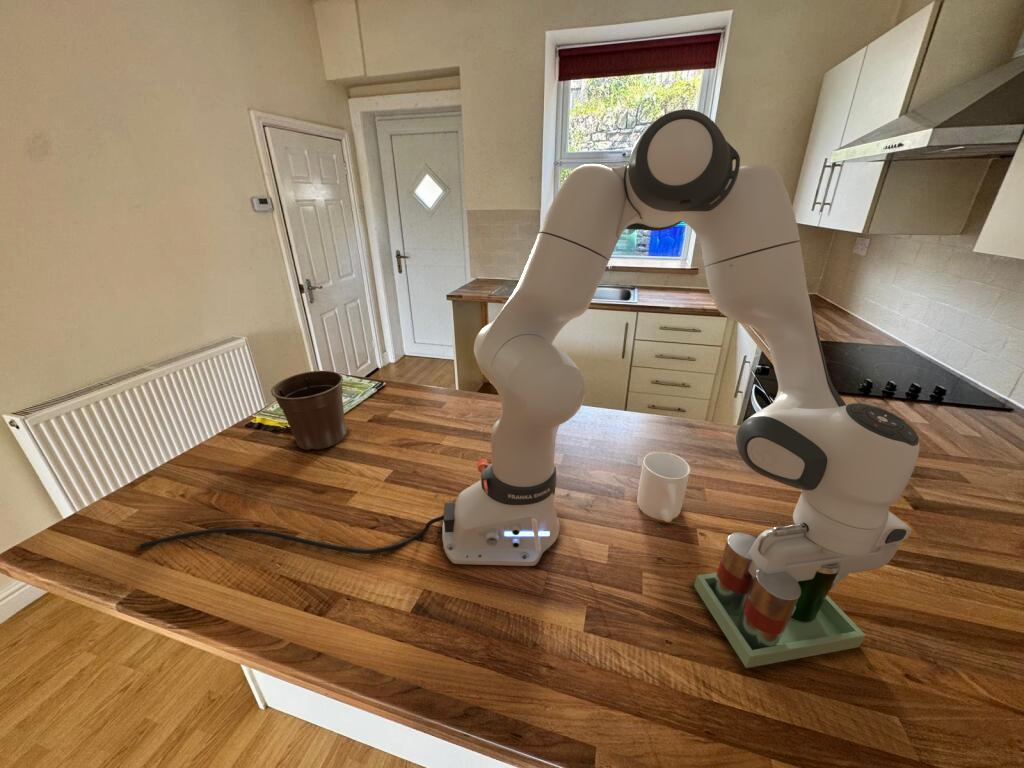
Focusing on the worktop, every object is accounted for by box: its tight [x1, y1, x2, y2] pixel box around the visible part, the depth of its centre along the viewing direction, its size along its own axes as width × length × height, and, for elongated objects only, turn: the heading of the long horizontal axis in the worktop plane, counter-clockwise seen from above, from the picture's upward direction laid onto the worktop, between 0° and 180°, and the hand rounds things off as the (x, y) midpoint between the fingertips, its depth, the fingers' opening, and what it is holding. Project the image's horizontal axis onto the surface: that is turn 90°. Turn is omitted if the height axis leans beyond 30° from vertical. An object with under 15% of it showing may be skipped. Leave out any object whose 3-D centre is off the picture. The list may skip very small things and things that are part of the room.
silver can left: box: [712, 532, 762, 616], centre depth 60 cm, size 5×5×12 cm
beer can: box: [790, 563, 840, 623], centre depth 59 cm, size 5×5×12 cm
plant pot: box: [270, 370, 348, 451], centre depth 102 cm, size 16×16×16 cm
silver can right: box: [736, 568, 801, 650], centre depth 55 cm, size 5×5×12 cm
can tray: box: [693, 572, 867, 669], centre depth 60 cm, size 18×13×3 cm
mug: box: [636, 451, 691, 523], centre depth 78 cm, size 9×12×11 cm
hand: (802, 590), depth 60 cm, fingers open, 5 cm apart
